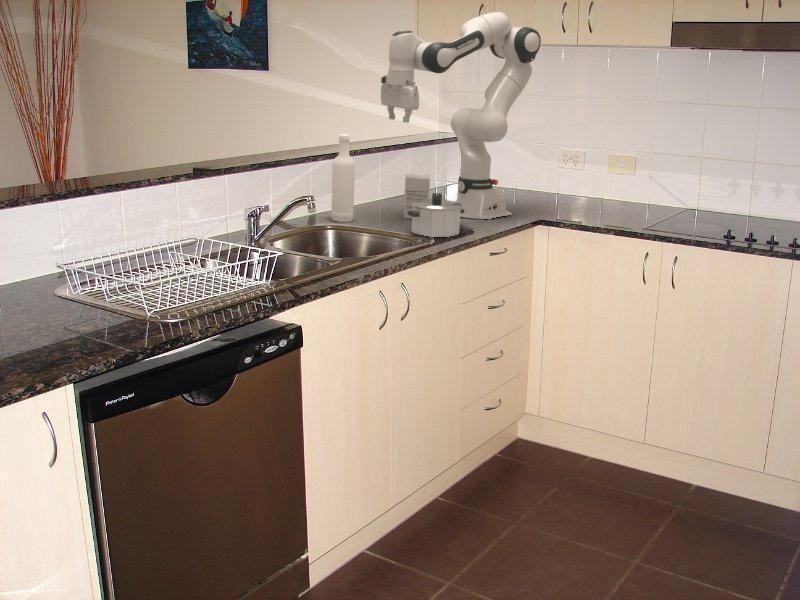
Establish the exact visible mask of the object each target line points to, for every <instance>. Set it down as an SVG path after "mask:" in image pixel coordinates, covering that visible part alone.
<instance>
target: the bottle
mask: <svg viewBox="0 0 800 600" xmlns="http://www.w3.org/2000/svg"><path fill="white" fill-rule="evenodd" d="M350 140H351V136H350V134H349V133H348V134H347V133H340V134H339V137H338V155H337V156H336V157H335V158H334V160H333V163H332V178H331V179H332V180H331V211H330V216H331V217H330V219H331V221H332V220H333V222H335V221H338V222H337V223H350V222H353V220H354V202H355V201H354V200H355V199H354V198H355V197H354V196H355V194H354V193H355V173H356V171H355V170H356V167H355V165H356V164H355V161H354V159H353V157H352V156H351V155H350Z"/></svg>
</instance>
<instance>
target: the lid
mask: <svg viewBox="0 0 800 600" xmlns="http://www.w3.org/2000/svg"><path fill="white" fill-rule="evenodd" d="M431 197H432V198H429V199H421V200H415V201H412V203H411V205H412V206H413V207H415V208H418V209H422V210H429V211H456V210H460V209H461V208H462V205H461V204H460V203H457V201H452V200H447V199H443V193H441V192H433V193H432V196H431Z"/></svg>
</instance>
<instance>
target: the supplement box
mask: <svg viewBox="0 0 800 600" xmlns="http://www.w3.org/2000/svg"><path fill="white" fill-rule="evenodd" d="M430 178H431V176H430V175H429V174H418V173H417V174H414V173H406V174H405V181H404V198H403V199H404V200H403V204H404V205H403V218H404V219H412V216H410V215H408V211H412V209H413V206H412V205H411V203H412V201H415V200H421V199H430V186H431V185H430V183H431V182H430V181H431V180H430Z"/></svg>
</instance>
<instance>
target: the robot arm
mask: <svg viewBox="0 0 800 600" xmlns="http://www.w3.org/2000/svg"><path fill="white" fill-rule="evenodd" d="M510 21H511V20H510V19H509V17H508V16H507V15H506V13H504V12H502V11H493V12H488V13H485V14H481V15H478V16H475V17H473V18H471V19H469V20H468V21H466V22H465V23H464V24H462V26H461V28H460V32H459V36H460V37H458V38H456V39H455V40H452V41H450V42H429V41H426V40H423V38H420V37H419V36H418V35H417V34H415V32H414V31H412V30H399V31H396V32H394V33H392V35H391V37H390V40H389V41H390V42H389V49H388V59H389V60H388V61H389V65H388V66H389V67H388V70H387V71H388V73H386V74H384V75H383V76H382V77H380V84H381V86H380V102H381V105H383V106H387V107H386V110H387V113H388V119H389V120H392V121H393V120H396V114H395V112H394V109H395V108H397V109H404V113H405V114H404V116H402V122H403V123H410V118H411V116H412V113H413V111H416V110H417V111H418V109H419V107H420V91H419V88H418V85H417V83H416V82H415V81H414V77H415V70H417V71H422V72H423V71H424V72H429V73H430V72H431V73H434V74H443V73H445V72H447V71H448V70H449V69H451V67H452V66H453V65H454V64H455V63H456V62H457V61H459V60H461V59H462V58H463V59H464V58H465V57H467V56H468V55H471V54H473V53H474V52H476V51H480V50H483V49H486V48H488V47H489V49H490V52H491V53H492V55H493V56H495V57H496V58H498V59H499V58H500V59H504V63H503V65H502V68H501V70H500V71H499V72H498V73H497V74H496V76H495V77H494V78H493V79H492V81H491V82H490V84H489V85H488V86H487V88H486V89H485V91H484V98H485V102H484V105H483V106H482V107H481V108H480V109H479V108H471V107H466V108H460V109H457V110H456V111H454V112H453V114H452V115H451V118H450V127H451V130H452V132H453V133H454V134H455V136H456V139H457V141H458V142H457V143H458V146H459V151H460V169H459V176H458V183H457V191H458V192H457V199H456V202H457V203H460V204H461V205H462V208H461V209H464V213H460V218H465V219H477V220H478V219H479V220H484V219H488V220H493V219H492V218H495V219H497V218H496V217H501V216H506V215H511V216H512V212H511V211H508V210H506V209H507V205H506V204H507V203H506V200H505V198H504V197H503V196H502V195H501V194H500V193H498V191H497V190H496V189H494V188H493V187H494V186H498V184H499V180H498V179H495V178H493V179H492V178H491V165H492V164H491V163H492V157H491V155H490V154H489V152H488V150H487V148H486V145H485V142H486V143H494V142H499V141H502V140H503V139H504V138H505V137H506V135H507V132H508V128H509V126H508V120H507V116H508V114H509V111H510V109H511V108H512V106H513V105H514V103H515V102H516V101H517V99H518V98H519V96H520V95H521V93H522V92H523V91H524V89H525V88H526V86H527V84H528V82H529V80H530V79H531V76H532V74H533V66H532V65H531V63H532V62H533V61H535V59H536V56H537V54H538V52H539V51H540V47H541V44H542V43H541V42H542V41H541V38H542V37H541V35H540V33H539V32H538V30H536V29H534V28H533V27H529V26H523V27H522V26H521V27H520V26H513V27H512V26H511V22H510ZM493 185H494V186H493ZM501 218H502V217H501Z"/></svg>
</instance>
